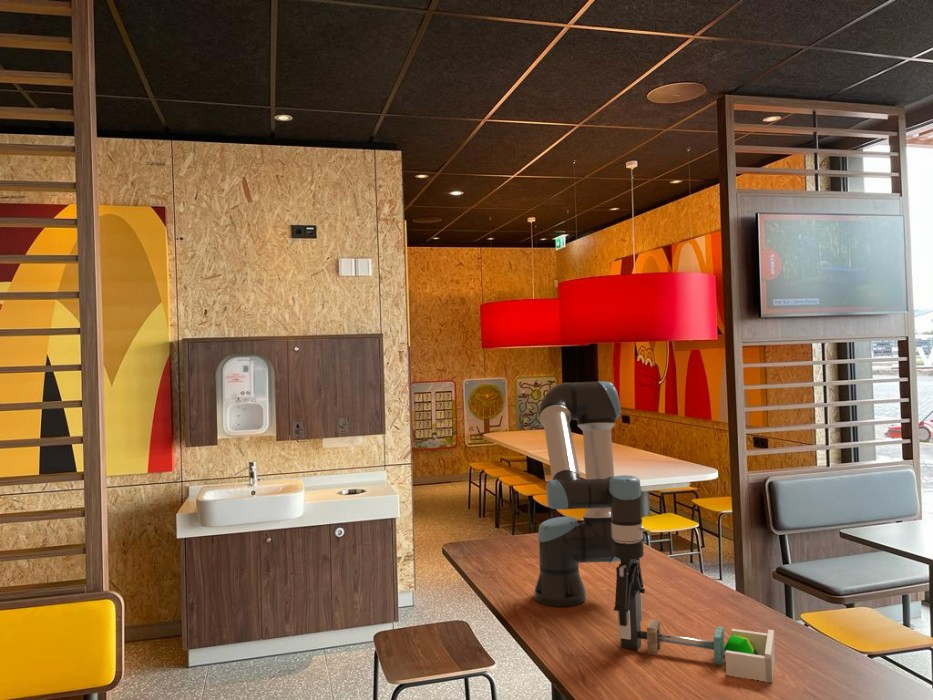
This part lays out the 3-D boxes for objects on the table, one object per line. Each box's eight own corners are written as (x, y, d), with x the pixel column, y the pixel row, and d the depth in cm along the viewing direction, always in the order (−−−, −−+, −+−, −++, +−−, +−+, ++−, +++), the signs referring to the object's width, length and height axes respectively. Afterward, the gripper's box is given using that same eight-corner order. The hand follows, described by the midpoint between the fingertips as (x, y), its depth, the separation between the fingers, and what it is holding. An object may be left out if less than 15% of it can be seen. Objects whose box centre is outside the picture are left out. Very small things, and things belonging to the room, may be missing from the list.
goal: (726, 675, 146) (725, 647, 146) (732, 649, 159) (731, 624, 159) (772, 683, 142) (770, 654, 142) (775, 656, 155) (773, 630, 155)
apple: (731, 634, 150) (750, 622, 156) (712, 646, 153) (731, 634, 159) (753, 664, 146) (771, 651, 152) (733, 676, 150) (751, 663, 156)
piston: (619, 649, 160) (617, 595, 161) (626, 638, 167) (624, 586, 167) (721, 665, 150) (718, 607, 150) (724, 653, 156) (722, 597, 156)
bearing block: (647, 653, 158) (646, 627, 158) (652, 644, 163) (651, 619, 163) (656, 655, 157) (655, 628, 157) (661, 646, 162) (660, 620, 162)
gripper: (630, 554, 151) (635, 650, 150) (652, 529, 172) (656, 613, 172) (598, 551, 154) (602, 645, 154) (624, 527, 176) (627, 609, 175)
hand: (631, 628), depth 163 cm, fingers open, 12 cm apart
